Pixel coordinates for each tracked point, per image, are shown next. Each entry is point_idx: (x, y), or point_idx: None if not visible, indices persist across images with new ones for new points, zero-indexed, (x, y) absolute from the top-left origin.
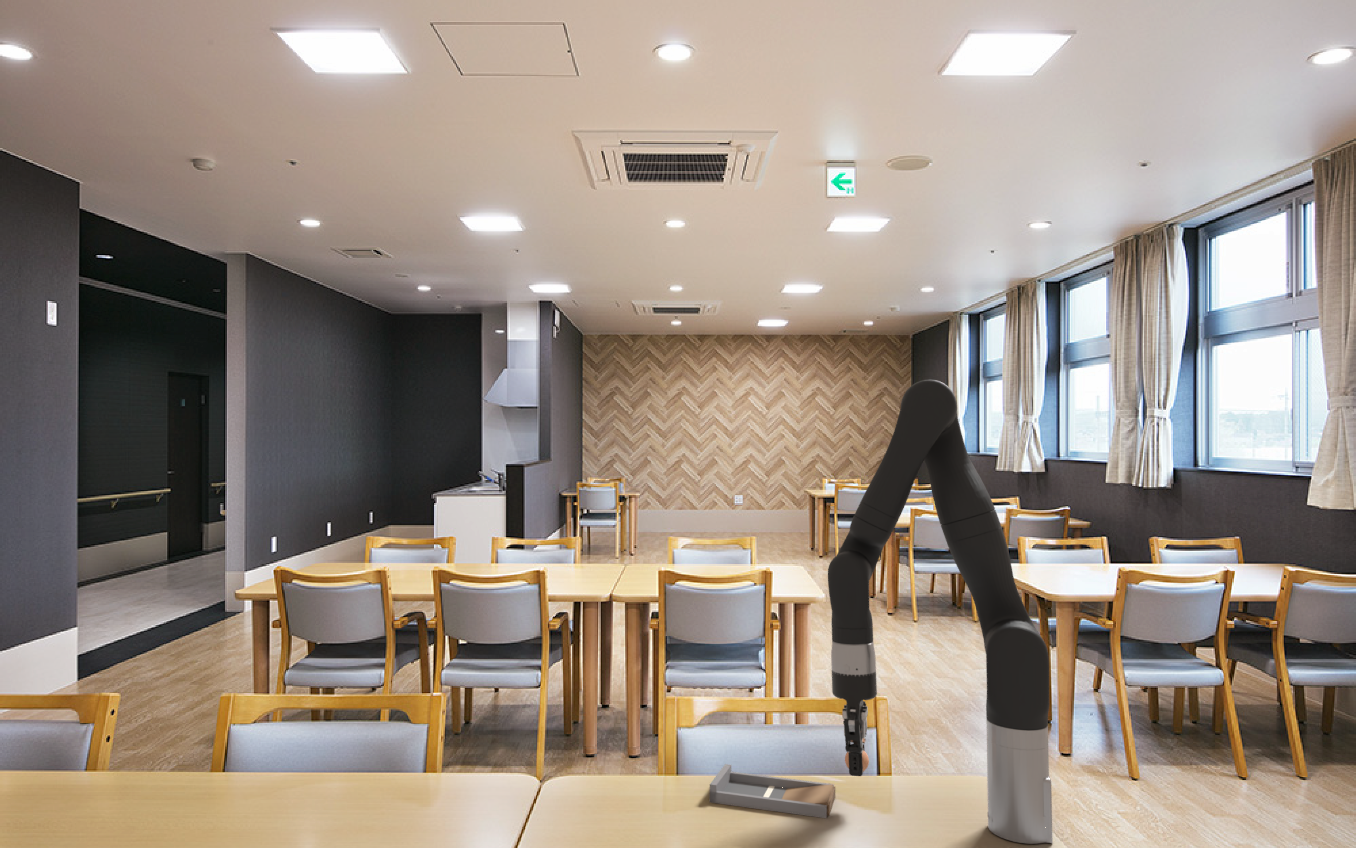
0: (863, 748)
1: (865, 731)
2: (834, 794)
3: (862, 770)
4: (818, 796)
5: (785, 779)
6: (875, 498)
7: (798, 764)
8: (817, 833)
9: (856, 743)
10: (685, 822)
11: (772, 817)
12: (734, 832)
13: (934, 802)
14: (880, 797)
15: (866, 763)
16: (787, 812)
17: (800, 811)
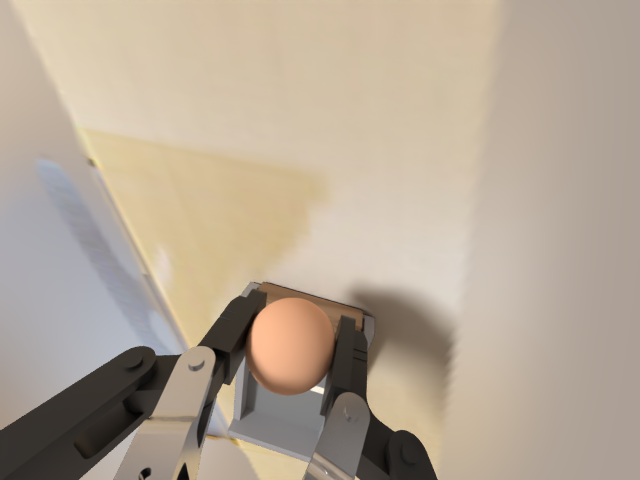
0: (236, 343)
1: (191, 426)
2: (273, 292)
3: (352, 328)
4: None
5: (243, 365)
6: None
7: (121, 306)
8: (440, 340)
9: (222, 376)
10: None
11: (368, 383)
12: (427, 430)
13: (219, 17)
14: (230, 184)
15: (322, 324)
16: None
17: None
